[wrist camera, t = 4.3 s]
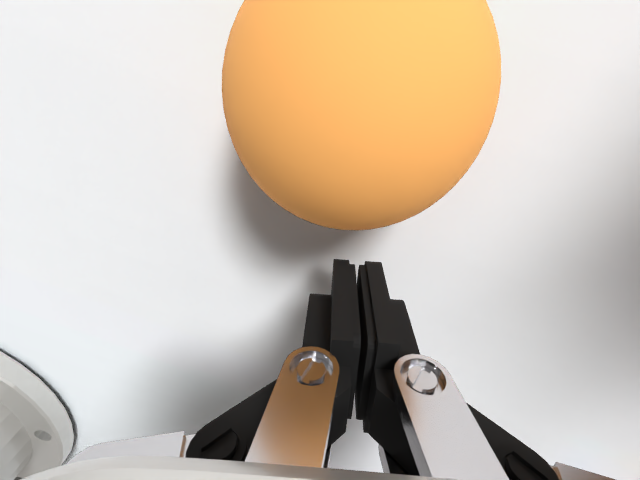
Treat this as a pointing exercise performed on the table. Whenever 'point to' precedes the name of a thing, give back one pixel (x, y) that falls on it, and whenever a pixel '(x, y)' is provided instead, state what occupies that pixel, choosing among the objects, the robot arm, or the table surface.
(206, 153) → the table surface
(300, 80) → the ball
